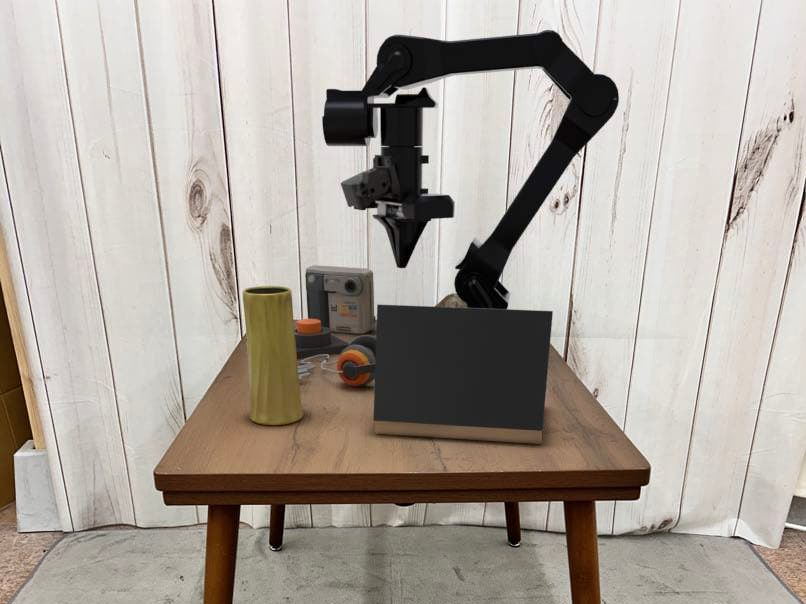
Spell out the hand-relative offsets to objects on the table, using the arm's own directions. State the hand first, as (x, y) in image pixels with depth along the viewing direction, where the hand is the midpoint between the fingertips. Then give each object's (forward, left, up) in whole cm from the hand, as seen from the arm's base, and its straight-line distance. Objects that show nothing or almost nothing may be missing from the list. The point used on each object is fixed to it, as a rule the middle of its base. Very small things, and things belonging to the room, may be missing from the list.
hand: (401, 267), depth 112 cm
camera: (+2, -17, -12) cm, 21 cm away
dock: (+12, -7, -12) cm, 18 cm away
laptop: (+10, +32, -12) cm, 35 cm away
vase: (+28, +20, -12) cm, 36 cm away
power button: (+12, -7, -9) cm, 17 cm away
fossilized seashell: (-14, -8, -12) cm, 20 cm away
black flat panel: (+13, +35, -5) cm, 38 cm away
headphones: (+13, +10, -12) cm, 21 cm away
